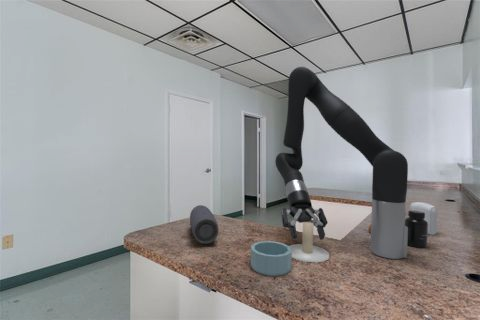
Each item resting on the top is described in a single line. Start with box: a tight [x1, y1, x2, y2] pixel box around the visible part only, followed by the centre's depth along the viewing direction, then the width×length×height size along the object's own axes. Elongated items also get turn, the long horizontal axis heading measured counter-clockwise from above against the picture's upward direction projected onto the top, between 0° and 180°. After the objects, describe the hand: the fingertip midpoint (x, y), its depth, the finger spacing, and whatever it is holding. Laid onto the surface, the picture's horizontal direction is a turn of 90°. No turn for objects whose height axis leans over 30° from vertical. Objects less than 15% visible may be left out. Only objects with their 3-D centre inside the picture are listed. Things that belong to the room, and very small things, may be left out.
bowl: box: [250, 240, 293, 277], centre depth 68 cm, size 11×11×5 cm
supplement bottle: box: [405, 209, 429, 249], centre depth 88 cm, size 7×7×12 cm
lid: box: [288, 222, 330, 264], centre depth 77 cm, size 13×13×10 cm
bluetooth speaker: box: [189, 204, 219, 245], centre depth 91 cm, size 23×9×10 cm, turn 14°
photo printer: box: [409, 201, 438, 236], centre depth 105 cm, size 10×4×12 cm, turn 13°
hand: (309, 238), depth 75 cm, fingers open, 8 cm apart
